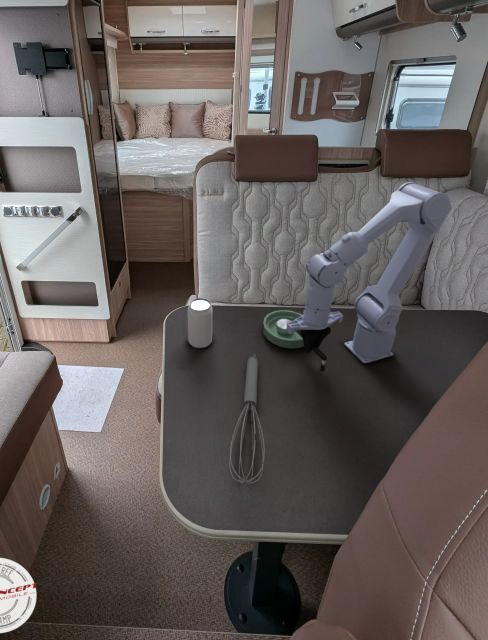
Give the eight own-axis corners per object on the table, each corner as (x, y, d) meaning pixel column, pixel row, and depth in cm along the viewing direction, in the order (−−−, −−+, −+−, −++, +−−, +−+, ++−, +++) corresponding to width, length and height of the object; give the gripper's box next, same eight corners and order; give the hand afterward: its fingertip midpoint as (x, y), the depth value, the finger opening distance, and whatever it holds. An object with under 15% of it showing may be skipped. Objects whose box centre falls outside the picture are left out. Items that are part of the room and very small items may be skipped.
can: (187, 333, 101) (187, 297, 95) (211, 332, 101) (211, 296, 96) (188, 349, 95) (187, 311, 90) (213, 348, 96) (213, 310, 90)
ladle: (273, 326, 103) (274, 313, 101) (288, 323, 104) (289, 309, 103) (315, 375, 86) (317, 360, 84) (332, 370, 87) (334, 355, 85)
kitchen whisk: (264, 359, 92) (266, 340, 89) (262, 497, 62) (264, 474, 59) (240, 357, 93) (241, 337, 90) (226, 492, 63) (227, 469, 60)
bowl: (295, 315, 109) (296, 306, 108) (322, 343, 98) (323, 334, 96) (254, 324, 105) (255, 315, 104) (277, 355, 94) (278, 345, 92)
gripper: (333, 289, 90) (325, 333, 96) (282, 300, 85) (276, 345, 91) (352, 305, 84) (342, 350, 90) (298, 317, 79) (291, 364, 85)
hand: (310, 349), depth 90 cm, fingers closed on ladle
